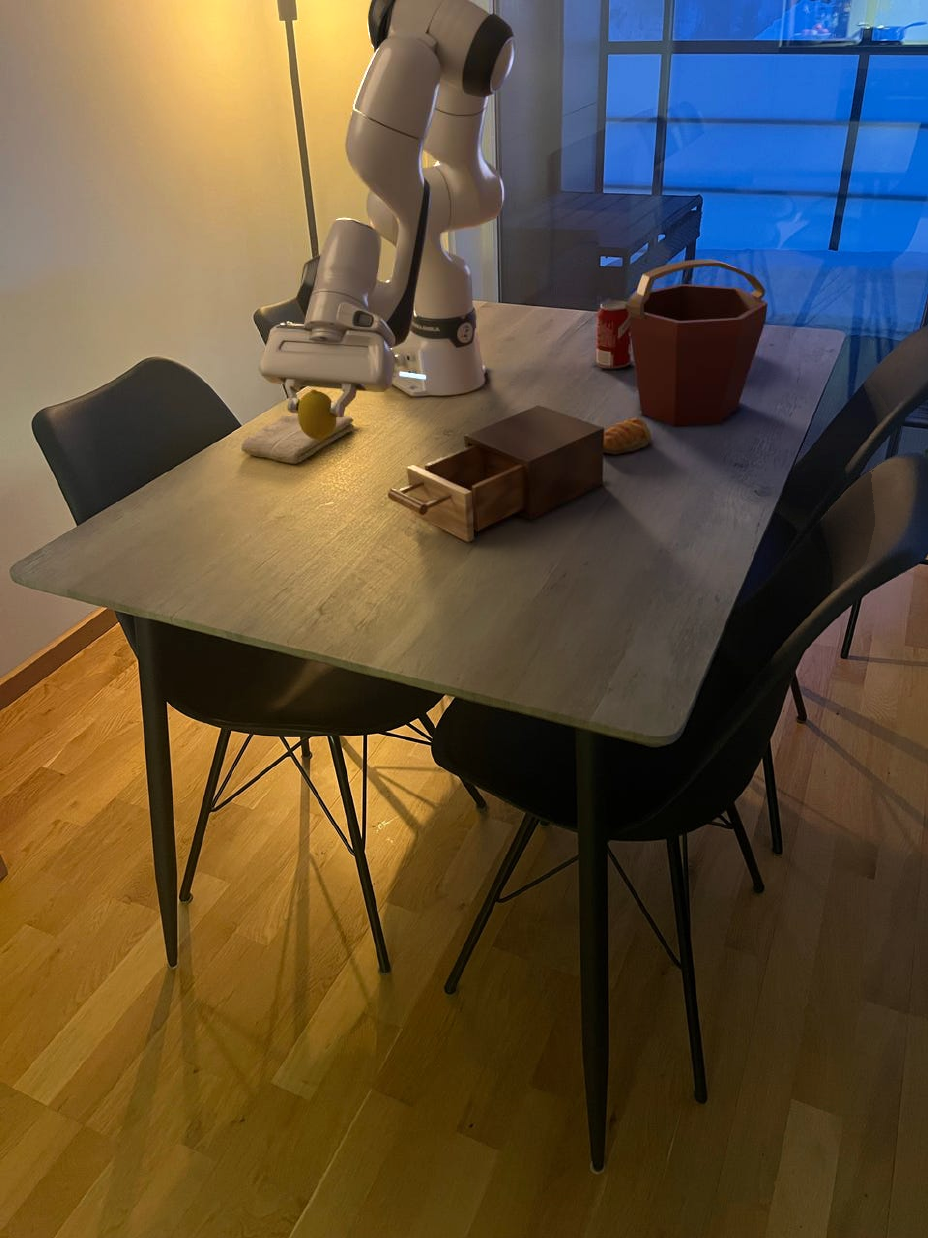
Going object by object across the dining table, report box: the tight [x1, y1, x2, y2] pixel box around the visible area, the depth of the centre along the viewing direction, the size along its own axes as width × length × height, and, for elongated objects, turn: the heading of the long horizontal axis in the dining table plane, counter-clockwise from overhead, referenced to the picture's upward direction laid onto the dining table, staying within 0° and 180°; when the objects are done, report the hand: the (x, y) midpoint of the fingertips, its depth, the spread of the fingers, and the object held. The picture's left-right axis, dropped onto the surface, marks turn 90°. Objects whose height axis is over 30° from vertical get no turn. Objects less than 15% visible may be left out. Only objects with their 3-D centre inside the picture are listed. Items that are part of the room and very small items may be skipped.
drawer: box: [387, 445, 526, 543], centre depth 135 cm, size 20×13×7 cm, turn 131°
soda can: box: [595, 300, 632, 370], centre depth 185 cm, size 7×7×12 cm
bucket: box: [625, 259, 769, 427], centre depth 162 cm, size 24×22×25 cm
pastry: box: [603, 417, 653, 455], centre depth 155 cm, size 9×7×4 cm
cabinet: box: [463, 404, 605, 521], centre depth 143 cm, size 16×14×9 cm
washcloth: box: [241, 413, 355, 465], centre depth 165 cm, size 12×18×3 cm, turn 150°
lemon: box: [298, 389, 337, 442], centre depth 137 cm, size 6×6×8 cm
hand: (315, 413), depth 136 cm, fingers closed on lemon, 5 cm apart
